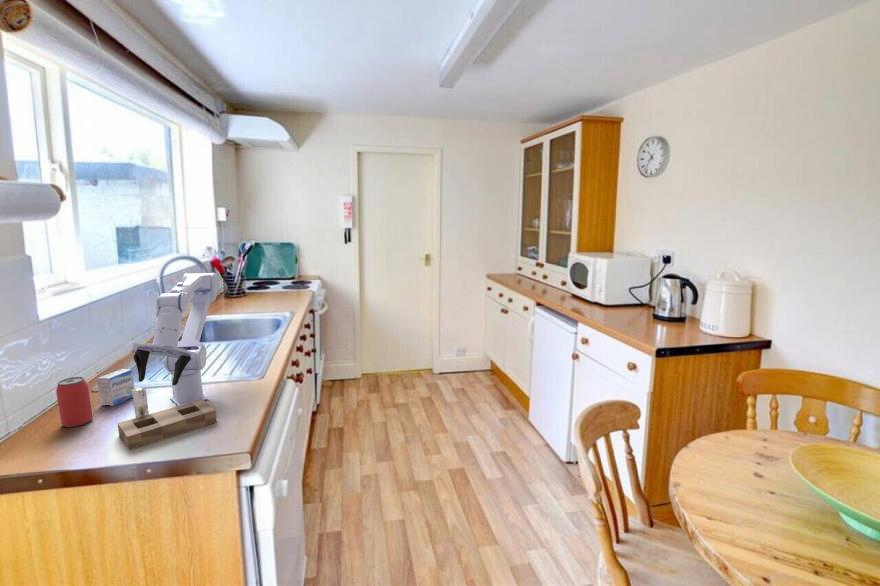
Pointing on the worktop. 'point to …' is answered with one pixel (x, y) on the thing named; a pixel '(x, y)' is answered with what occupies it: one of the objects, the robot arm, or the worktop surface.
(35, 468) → the worktop surface
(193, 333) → the robot arm
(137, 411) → the steel peg
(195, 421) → the hole block
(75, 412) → the beer can
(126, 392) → the medicine box
